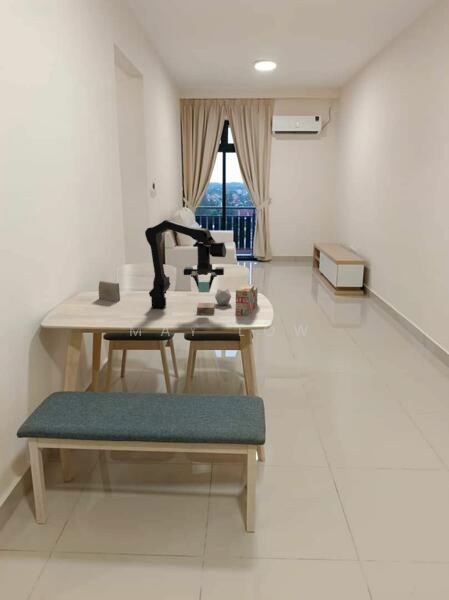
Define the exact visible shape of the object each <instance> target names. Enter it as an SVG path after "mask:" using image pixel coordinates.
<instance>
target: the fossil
mask: <svg viewBox="0 0 449 600" xmlns="http://www.w3.org/2000/svg"><path fill="white" fill-rule="evenodd" d="M98 300H103V301H110V302H115V303H116V302H121V293H120V282H119V283H118V282H112V281H105V280H100V281H99V282H98Z"/></svg>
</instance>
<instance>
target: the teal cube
mask: <svg viewBox="0 0 449 600" xmlns="http://www.w3.org/2000/svg"><path fill="white" fill-rule="evenodd" d="M209 285H210V279H199V282H198V287H197V290H198V293H210V291H211V288H210V289H209Z"/></svg>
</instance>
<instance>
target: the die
mask: <svg viewBox="0 0 449 600" xmlns="http://www.w3.org/2000/svg"><path fill="white" fill-rule="evenodd" d="M214 295H215V296H214V299H215V301H216V303H217V305H218V306H227V305H229V304H230V301H231V299H232V295H231V293H230V290H229V288H217V290H216V293H215V294H214Z"/></svg>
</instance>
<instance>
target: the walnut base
mask: <svg viewBox="0 0 449 600" xmlns="http://www.w3.org/2000/svg"><path fill="white" fill-rule="evenodd" d="M198 313H213V315H214V314H215V302H198V303H197V306H196V314H198Z"/></svg>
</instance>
